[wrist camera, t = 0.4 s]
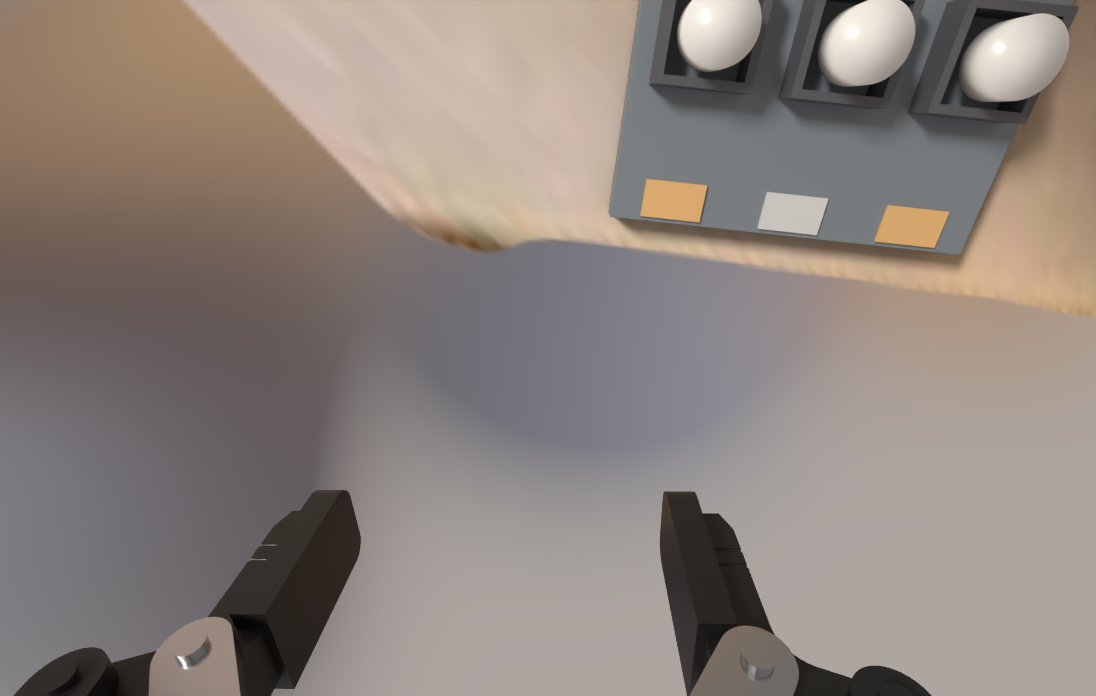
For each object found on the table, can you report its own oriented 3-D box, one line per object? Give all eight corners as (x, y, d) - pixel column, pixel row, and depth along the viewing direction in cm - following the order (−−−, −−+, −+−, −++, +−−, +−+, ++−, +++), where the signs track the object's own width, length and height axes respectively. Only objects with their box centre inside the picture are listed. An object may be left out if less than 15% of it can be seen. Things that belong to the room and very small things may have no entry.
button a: (684, -16, 27) (692, -25, 26) (758, -8, 27) (771, -17, 26) (670, 68, 29) (676, 65, 27) (739, 75, 29) (750, 73, 27)
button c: (978, 16, 27) (1006, 9, 26) (1051, 24, 27) (1085, 17, 26) (946, 98, 29) (971, 97, 27) (1015, 105, 29) (1044, 105, 27)
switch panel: (649, -66, 30) (659, -91, 26) (1055, -22, 30) (1123, -41, 26) (608, 211, 36) (612, 222, 33) (940, 247, 36) (981, 262, 33)
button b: (831, 0, 27) (849, -8, 26) (904, 8, 27) (928, 0, 26) (808, 83, 29) (823, 80, 27) (877, 90, 29) (897, 89, 27)
